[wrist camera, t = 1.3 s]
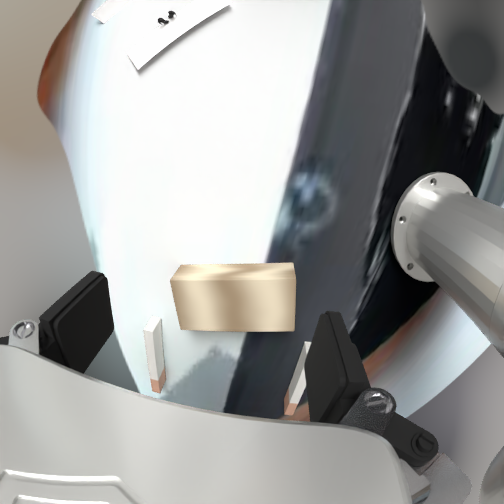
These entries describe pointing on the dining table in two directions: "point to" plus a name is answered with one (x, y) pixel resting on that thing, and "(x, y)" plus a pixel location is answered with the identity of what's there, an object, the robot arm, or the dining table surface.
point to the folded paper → (162, 25)
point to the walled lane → (158, 375)
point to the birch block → (235, 297)
